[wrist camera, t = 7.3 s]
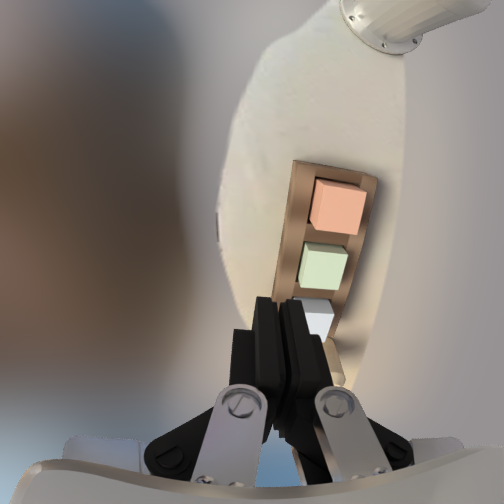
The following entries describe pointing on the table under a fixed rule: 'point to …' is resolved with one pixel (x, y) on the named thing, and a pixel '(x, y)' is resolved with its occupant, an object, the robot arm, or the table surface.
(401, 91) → the table surface
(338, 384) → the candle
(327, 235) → the button panel
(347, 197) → the terracotta button
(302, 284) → the sage button
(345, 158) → the table surface
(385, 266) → the table surface
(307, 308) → the greyblue button
